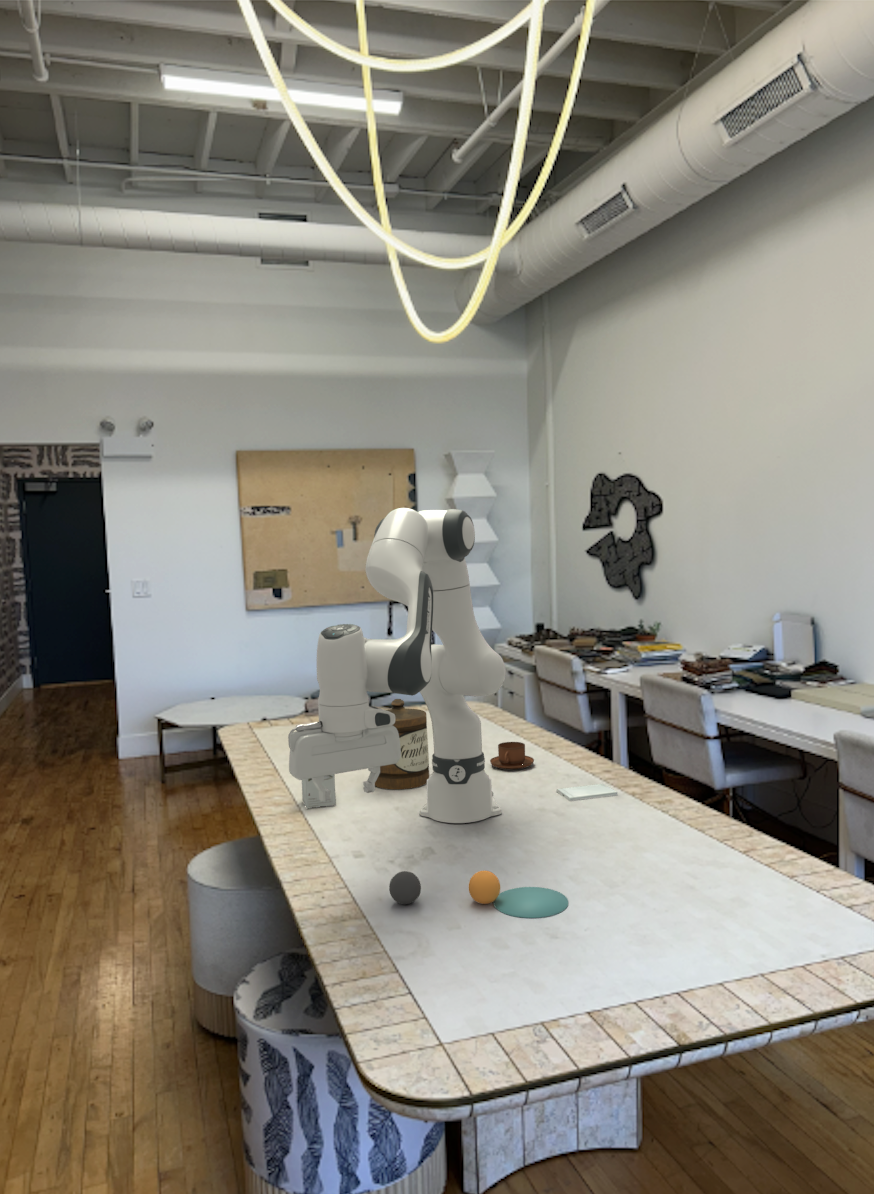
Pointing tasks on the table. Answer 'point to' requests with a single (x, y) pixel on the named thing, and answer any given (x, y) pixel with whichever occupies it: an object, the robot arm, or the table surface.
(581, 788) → the hard drive
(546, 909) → the teal flat disc
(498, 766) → the cup and saucer
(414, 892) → the black ball
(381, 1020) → the table surface
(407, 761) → the wooden container
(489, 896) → the orange ball
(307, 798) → the supplement box
